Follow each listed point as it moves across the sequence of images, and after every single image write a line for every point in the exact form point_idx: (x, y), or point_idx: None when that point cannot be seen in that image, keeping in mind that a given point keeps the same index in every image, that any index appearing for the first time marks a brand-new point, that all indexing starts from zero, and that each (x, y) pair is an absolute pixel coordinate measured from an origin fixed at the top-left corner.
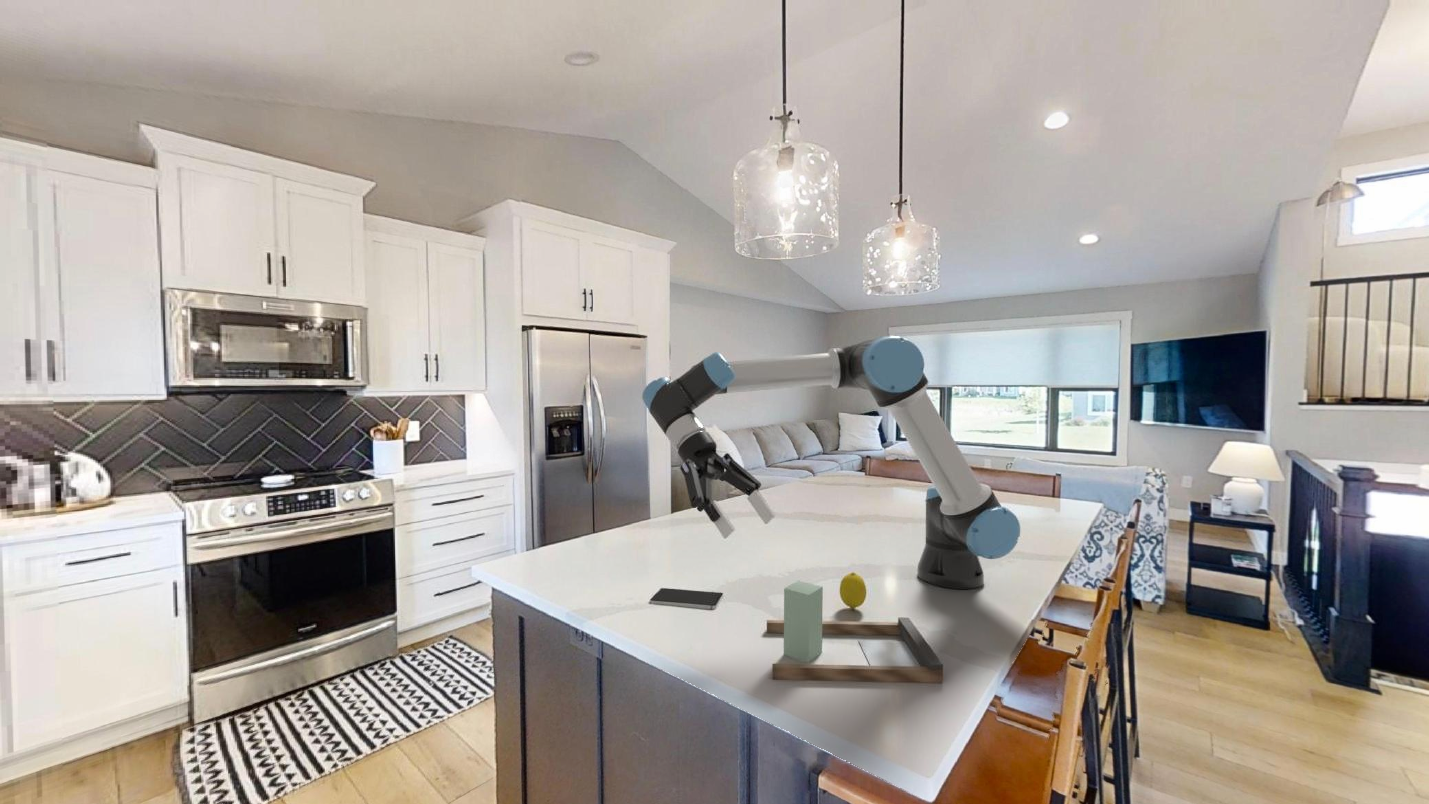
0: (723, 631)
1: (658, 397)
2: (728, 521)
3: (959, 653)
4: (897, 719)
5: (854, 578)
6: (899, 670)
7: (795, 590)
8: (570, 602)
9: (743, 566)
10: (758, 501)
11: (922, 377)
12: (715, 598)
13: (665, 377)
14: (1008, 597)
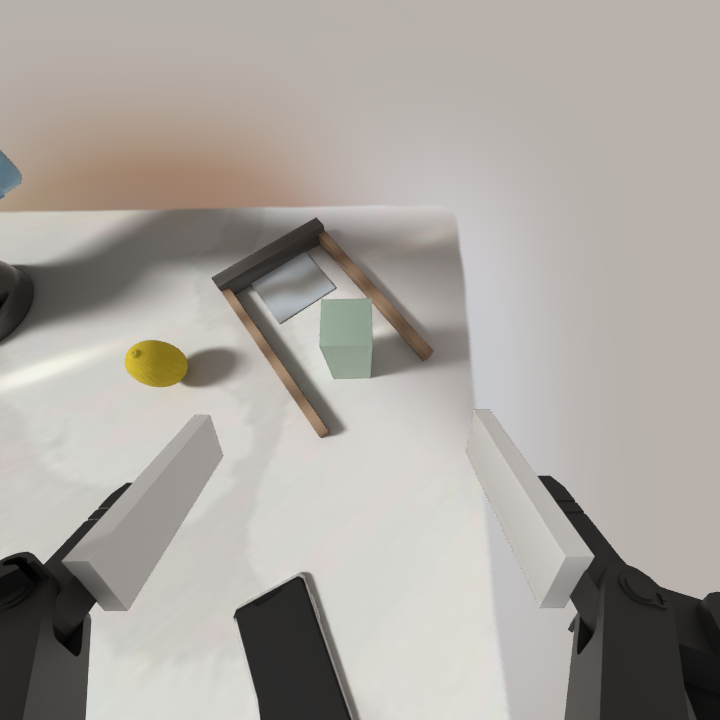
0: (368, 492)
1: None
2: (499, 435)
3: (245, 237)
4: (405, 241)
5: (150, 348)
6: (342, 251)
7: (368, 324)
8: None
9: None
10: (154, 508)
11: None
12: (269, 603)
13: None
14: (44, 235)
